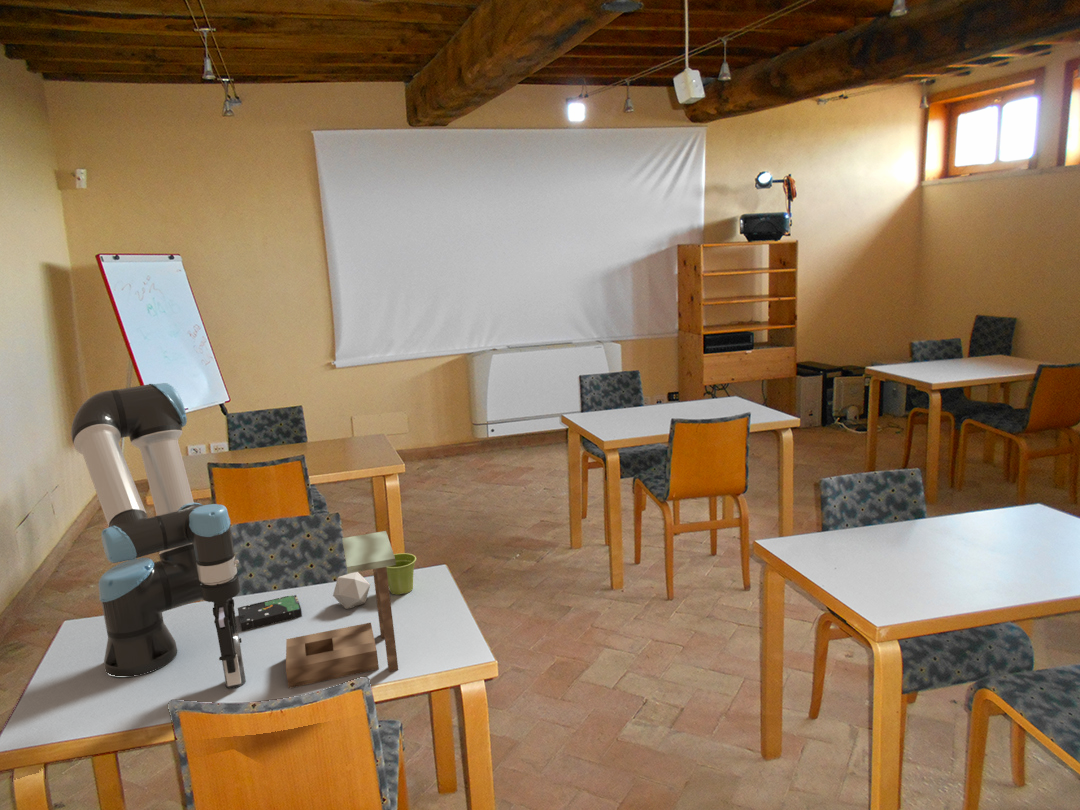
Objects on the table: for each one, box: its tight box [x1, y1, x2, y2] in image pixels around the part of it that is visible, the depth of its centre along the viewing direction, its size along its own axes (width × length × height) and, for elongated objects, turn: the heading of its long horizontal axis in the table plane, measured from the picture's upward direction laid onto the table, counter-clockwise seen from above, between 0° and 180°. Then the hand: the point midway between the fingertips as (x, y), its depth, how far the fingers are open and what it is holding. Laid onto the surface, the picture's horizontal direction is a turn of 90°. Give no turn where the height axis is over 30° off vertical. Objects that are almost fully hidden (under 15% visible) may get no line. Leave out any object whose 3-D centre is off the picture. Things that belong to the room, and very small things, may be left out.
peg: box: [221, 632, 247, 690], centre depth 169 cm, size 4×4×11 cm
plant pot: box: [387, 552, 417, 596], centre depth 210 cm, size 9×9×9 cm
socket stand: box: [285, 530, 399, 689], centre depth 174 cm, size 25×18×26 cm
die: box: [332, 572, 371, 610], centre depth 204 cm, size 8×9×10 cm
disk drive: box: [237, 594, 303, 632], centre depth 201 cm, size 10×3×15 cm
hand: (235, 678), depth 169 cm, fingers closed on peg, 4 cm apart
